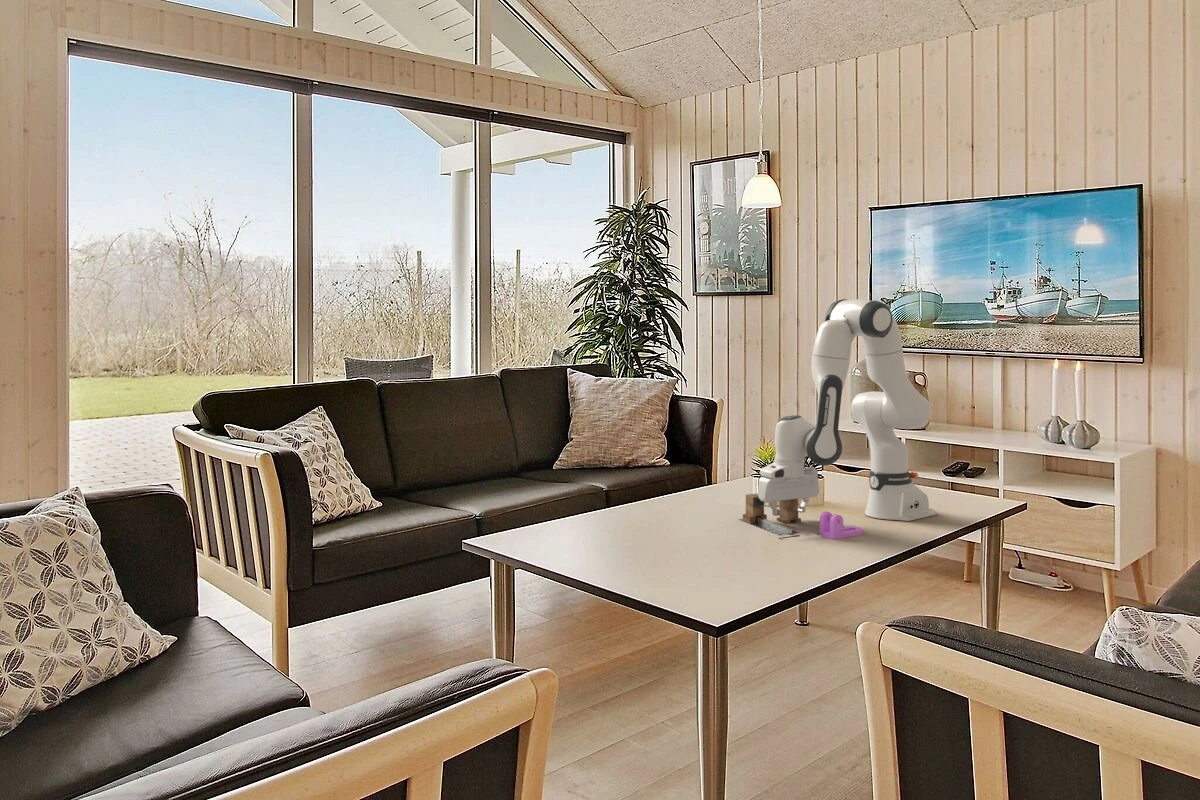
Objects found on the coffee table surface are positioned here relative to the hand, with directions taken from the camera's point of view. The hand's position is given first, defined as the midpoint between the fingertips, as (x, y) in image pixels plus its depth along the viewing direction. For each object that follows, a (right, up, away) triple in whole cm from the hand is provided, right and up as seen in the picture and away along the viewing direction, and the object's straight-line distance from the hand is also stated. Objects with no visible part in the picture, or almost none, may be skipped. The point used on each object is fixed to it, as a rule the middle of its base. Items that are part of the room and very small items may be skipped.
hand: (789, 513), depth 271 cm
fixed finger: (-10, -2, +1) cm, 11 cm away
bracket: (+13, -5, -12) cm, 19 cm away
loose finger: (0, -3, 0) cm, 3 cm away
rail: (-7, -4, -5) cm, 10 cm away
